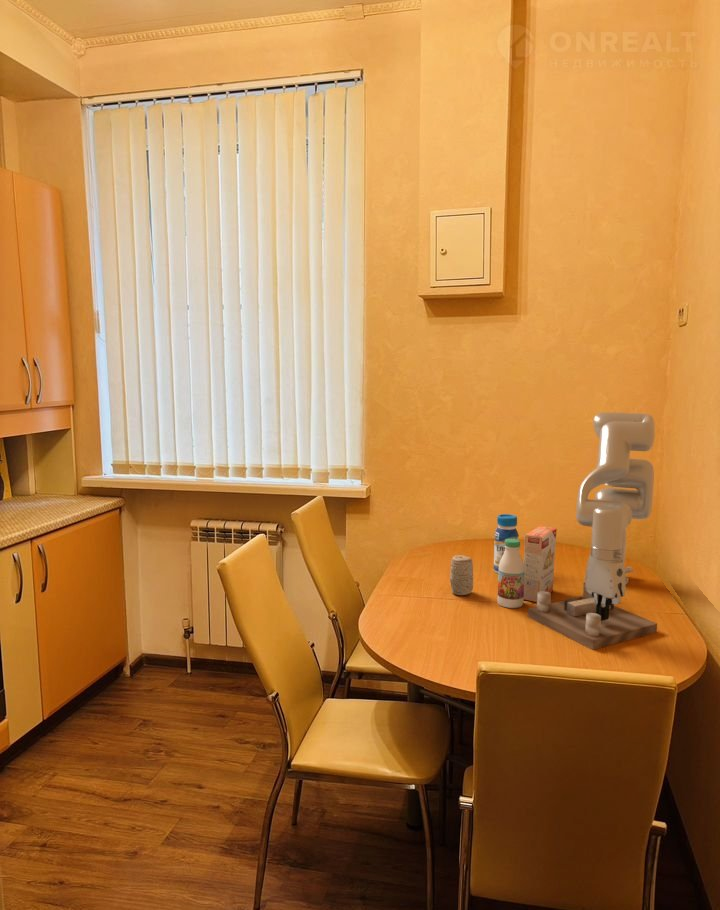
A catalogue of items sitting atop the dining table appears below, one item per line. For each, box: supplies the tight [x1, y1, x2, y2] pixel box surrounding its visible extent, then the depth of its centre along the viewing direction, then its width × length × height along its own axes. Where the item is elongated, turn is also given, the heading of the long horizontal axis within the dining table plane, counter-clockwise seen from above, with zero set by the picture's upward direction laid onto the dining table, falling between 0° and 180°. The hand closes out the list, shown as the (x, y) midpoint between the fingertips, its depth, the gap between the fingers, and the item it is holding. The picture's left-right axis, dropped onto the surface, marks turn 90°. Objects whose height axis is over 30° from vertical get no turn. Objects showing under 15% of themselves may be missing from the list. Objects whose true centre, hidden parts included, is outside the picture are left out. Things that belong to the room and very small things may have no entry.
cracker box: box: [523, 525, 558, 603], centre depth 196 cm, size 14×6×21 cm, turn 146°
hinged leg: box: [567, 598, 615, 616], centre depth 178 cm, size 16×3×4 cm, turn 114°
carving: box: [449, 554, 474, 596], centre depth 198 cm, size 6×8×12 cm
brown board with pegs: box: [527, 581, 658, 651], centre depth 174 cm, size 24×24×8 cm
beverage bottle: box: [493, 513, 520, 574], centre depth 219 cm, size 8×8×20 cm
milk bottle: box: [496, 539, 524, 609], centre depth 189 cm, size 8×8×20 cm
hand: (602, 618), depth 168 cm, fingers closed
